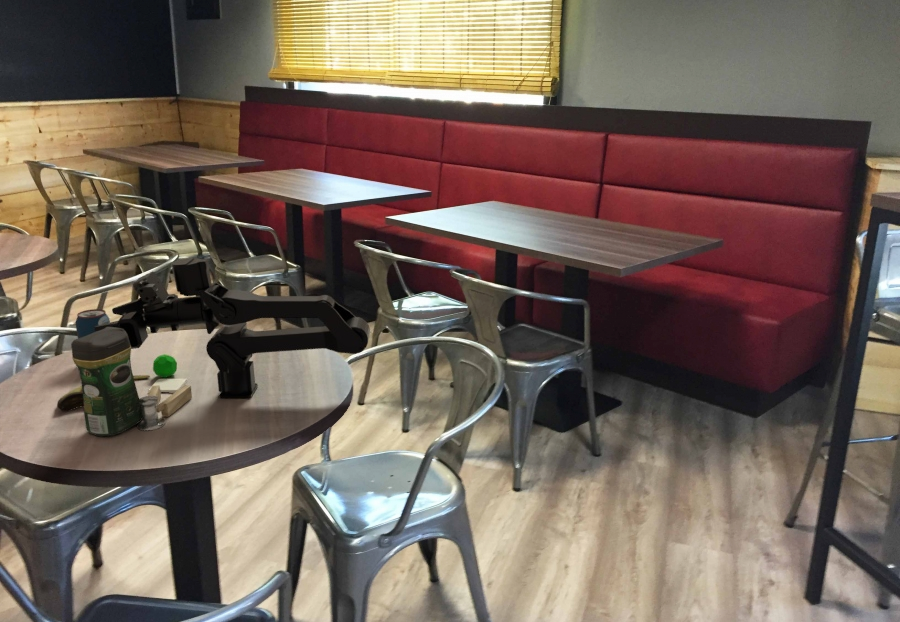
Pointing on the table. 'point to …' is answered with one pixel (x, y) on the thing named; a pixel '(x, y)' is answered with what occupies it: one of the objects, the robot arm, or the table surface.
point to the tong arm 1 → (155, 392)
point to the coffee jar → (107, 381)
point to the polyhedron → (164, 366)
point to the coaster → (169, 384)
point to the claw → (79, 397)
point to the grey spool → (149, 414)
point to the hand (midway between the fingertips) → (104, 319)
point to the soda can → (90, 321)
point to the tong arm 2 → (175, 401)
